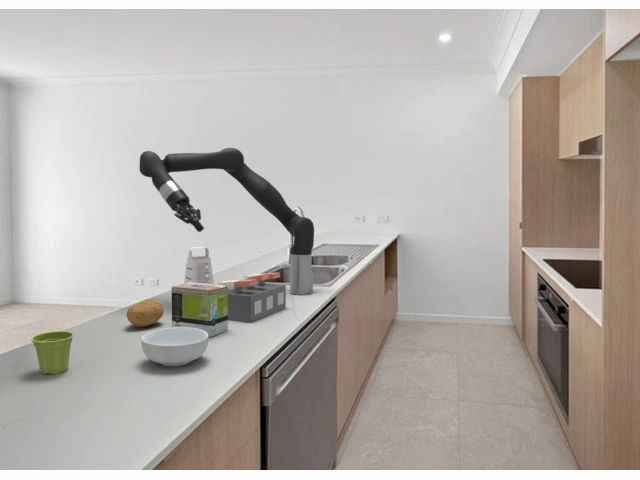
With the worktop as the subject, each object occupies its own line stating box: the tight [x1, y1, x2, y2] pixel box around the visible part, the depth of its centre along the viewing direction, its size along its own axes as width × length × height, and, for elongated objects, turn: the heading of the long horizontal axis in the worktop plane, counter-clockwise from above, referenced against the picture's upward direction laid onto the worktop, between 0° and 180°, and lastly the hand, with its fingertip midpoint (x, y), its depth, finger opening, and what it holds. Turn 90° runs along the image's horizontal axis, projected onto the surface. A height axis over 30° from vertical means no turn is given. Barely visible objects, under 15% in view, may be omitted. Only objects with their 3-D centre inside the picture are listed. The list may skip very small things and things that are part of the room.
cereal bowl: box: [140, 327, 209, 367], centre depth 139 cm, size 17×17×7 cm
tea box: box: [171, 282, 229, 338], centre depth 168 cm, size 15×10×15 cm
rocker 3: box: [243, 272, 281, 281], centre depth 201 cm, size 5×13×2 cm, turn 66°
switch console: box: [228, 280, 287, 323], centre depth 197 cm, size 31×16×11 cm, turn 156°
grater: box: [183, 246, 215, 284], centre depth 226 cm, size 10×10×20 cm
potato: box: [125, 299, 165, 328], centre depth 174 cm, size 10×14×8 cm
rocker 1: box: [217, 279, 258, 287], centre depth 186 cm, size 5×13×2 cm, turn 66°
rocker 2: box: [239, 273, 269, 282], centre depth 194 cm, size 5×13×2 cm, turn 66°
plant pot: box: [30, 330, 75, 375], centre depth 131 cm, size 9×9×9 cm
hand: (201, 230), depth 193 cm, fingers closed
